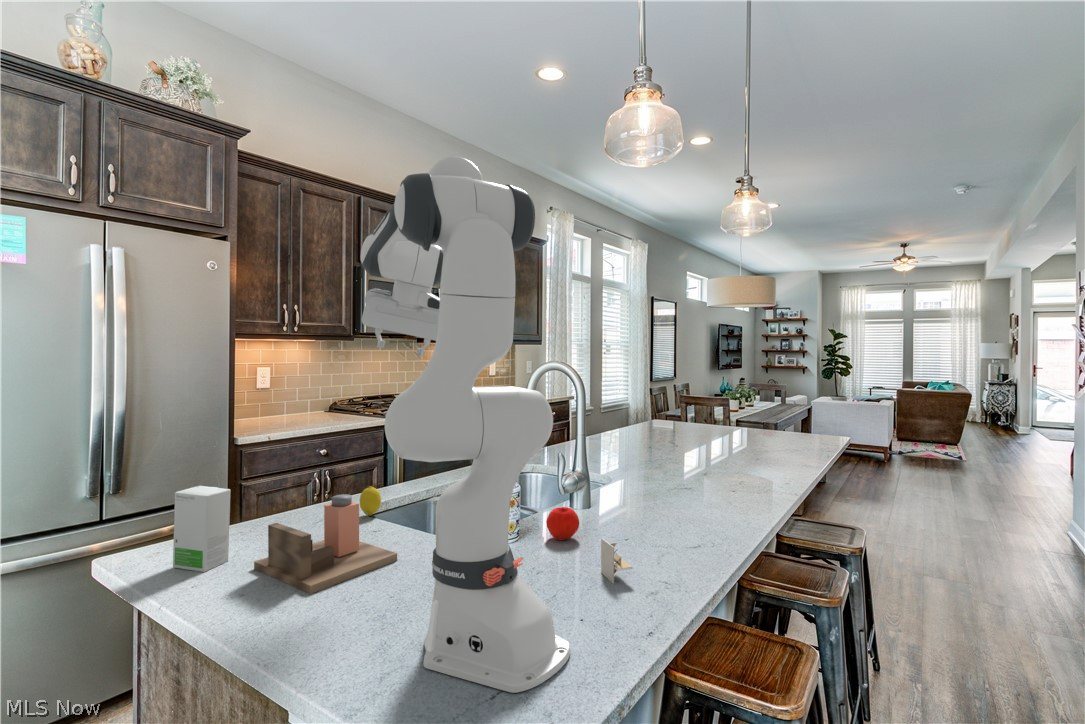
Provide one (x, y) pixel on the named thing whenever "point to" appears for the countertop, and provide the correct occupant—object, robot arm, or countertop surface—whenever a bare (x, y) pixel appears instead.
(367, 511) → the lemon
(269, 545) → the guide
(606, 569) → the architectural model
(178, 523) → the skincare box
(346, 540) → the pink square bottle
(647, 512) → the countertop surface
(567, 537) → the apple
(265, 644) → the countertop surface
